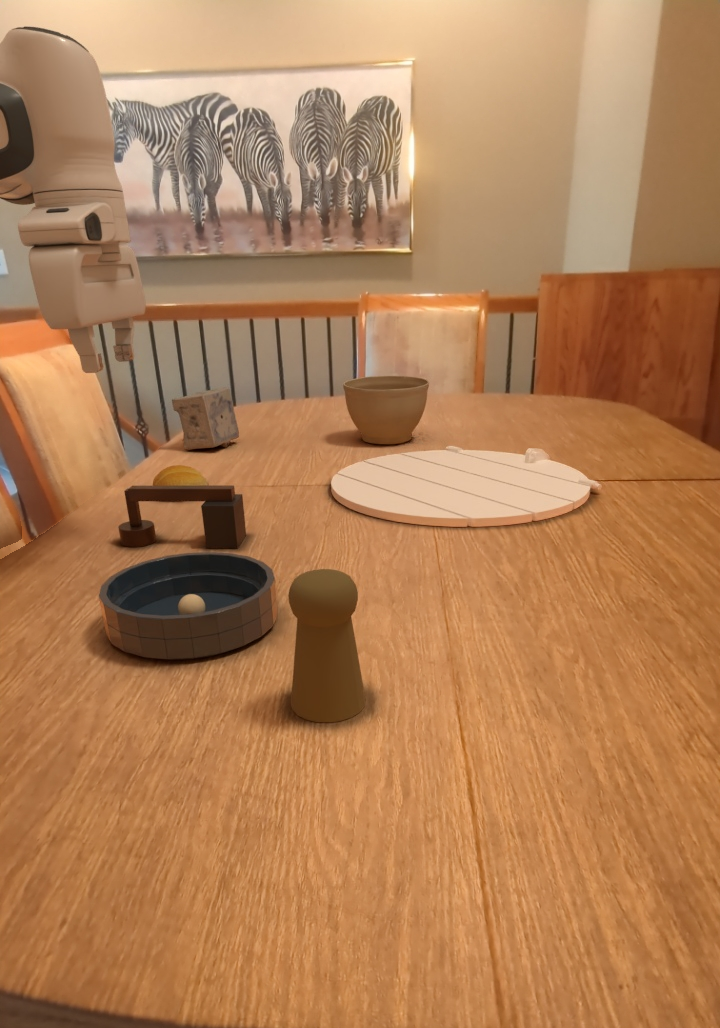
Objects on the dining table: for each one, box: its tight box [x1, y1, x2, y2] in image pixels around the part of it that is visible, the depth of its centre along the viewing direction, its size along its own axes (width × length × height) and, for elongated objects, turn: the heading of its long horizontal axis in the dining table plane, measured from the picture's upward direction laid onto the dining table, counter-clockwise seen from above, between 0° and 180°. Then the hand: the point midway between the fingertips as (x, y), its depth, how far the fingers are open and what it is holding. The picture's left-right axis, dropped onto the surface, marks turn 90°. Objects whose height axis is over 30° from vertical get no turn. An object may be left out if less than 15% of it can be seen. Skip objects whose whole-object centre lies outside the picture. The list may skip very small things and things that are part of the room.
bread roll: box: [152, 464, 210, 486], centre depth 115 cm, size 8×9×4 cm
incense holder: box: [171, 386, 240, 451], centre depth 143 cm, size 10×8×10 cm
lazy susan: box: [330, 445, 603, 528], centre depth 116 cm, size 40×39×3 cm
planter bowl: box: [342, 375, 430, 445], centre depth 144 cm, size 16×16×11 cm
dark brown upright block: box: [200, 493, 247, 550], centre depth 95 cm, size 4×5×6 cm
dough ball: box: [178, 594, 205, 615], centre depth 74 cm, size 3×3×3 cm
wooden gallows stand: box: [117, 484, 236, 548], centre depth 95 cm, size 15×4×7 cm, turn 85°
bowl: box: [98, 551, 279, 661], centre depth 73 cm, size 16×16×4 cm
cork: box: [287, 568, 366, 723], centre depth 58 cm, size 6×6×11 cm
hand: (110, 366), depth 85 cm, fingers open, 8 cm apart
